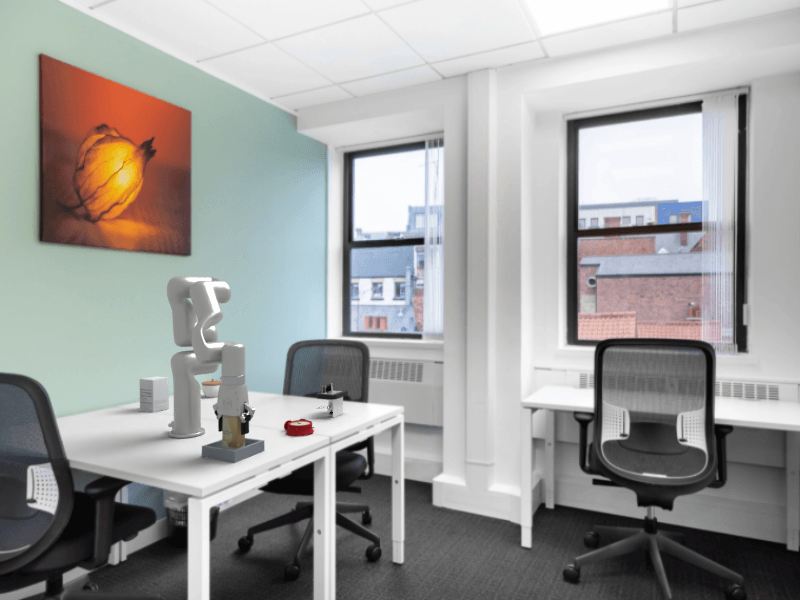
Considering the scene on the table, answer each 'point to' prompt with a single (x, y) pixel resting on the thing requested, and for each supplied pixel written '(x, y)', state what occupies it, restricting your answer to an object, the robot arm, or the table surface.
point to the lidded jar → (211, 388)
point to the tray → (220, 453)
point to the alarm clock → (298, 427)
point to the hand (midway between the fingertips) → (233, 432)
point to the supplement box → (154, 394)
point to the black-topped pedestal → (333, 399)
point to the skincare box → (232, 433)
